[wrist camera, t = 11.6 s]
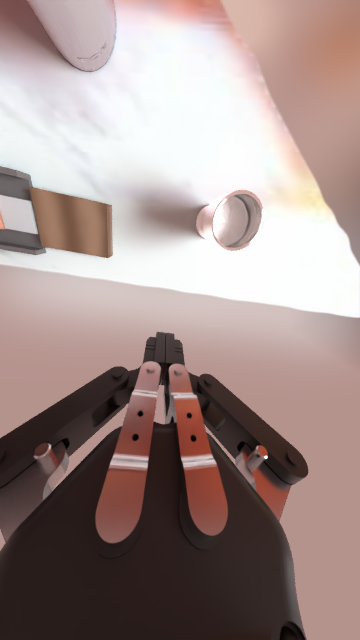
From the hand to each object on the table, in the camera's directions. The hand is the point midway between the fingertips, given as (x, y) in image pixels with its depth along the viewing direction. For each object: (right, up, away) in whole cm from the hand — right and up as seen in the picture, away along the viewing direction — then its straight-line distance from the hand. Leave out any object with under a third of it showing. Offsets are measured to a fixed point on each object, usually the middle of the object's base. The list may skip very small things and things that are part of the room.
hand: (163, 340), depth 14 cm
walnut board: (-18, +20, +18) cm, 33 cm away
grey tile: (-27, +21, +16) cm, 38 cm away
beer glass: (+8, +22, +19) cm, 30 cm away
